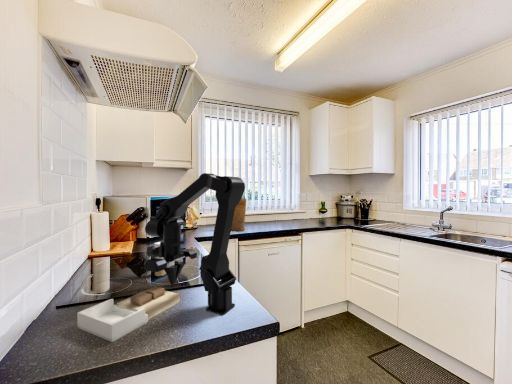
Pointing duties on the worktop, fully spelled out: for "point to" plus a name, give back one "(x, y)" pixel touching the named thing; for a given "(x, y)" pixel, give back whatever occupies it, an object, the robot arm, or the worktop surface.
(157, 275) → the sprinkles bottle
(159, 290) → the walnut tile
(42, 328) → the worktop surface
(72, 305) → the worktop surface
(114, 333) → the box
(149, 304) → the birch plate
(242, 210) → the pancake mix bag
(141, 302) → the walnut tile
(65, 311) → the worktop surface
